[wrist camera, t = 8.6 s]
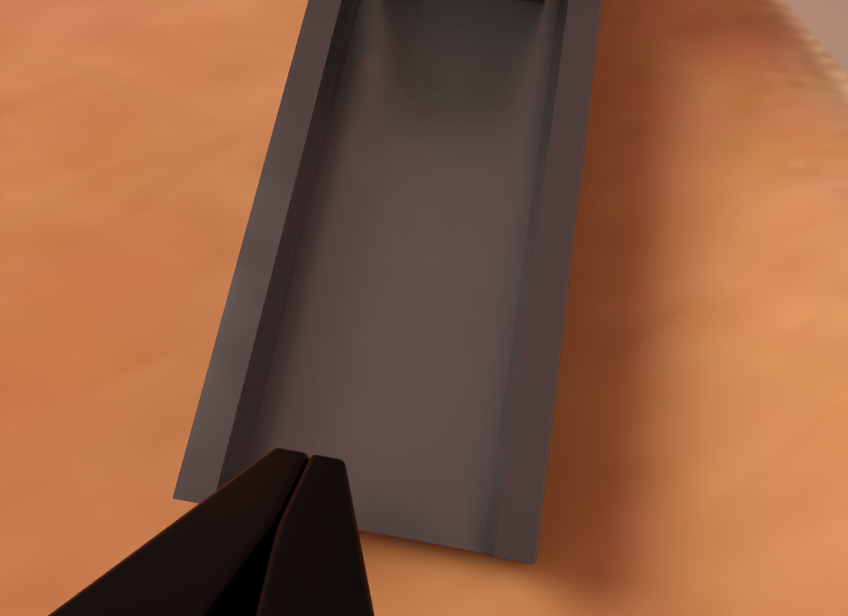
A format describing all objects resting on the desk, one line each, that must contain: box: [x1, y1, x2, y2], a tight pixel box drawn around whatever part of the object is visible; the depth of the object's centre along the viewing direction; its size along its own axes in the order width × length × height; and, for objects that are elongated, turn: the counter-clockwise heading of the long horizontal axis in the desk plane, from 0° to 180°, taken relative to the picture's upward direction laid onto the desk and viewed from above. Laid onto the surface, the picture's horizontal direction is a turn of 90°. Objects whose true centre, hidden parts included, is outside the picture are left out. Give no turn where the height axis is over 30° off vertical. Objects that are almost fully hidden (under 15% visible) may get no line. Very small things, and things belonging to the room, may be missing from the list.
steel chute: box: [173, 0, 602, 564], centre depth 22 cm, size 24×10×4 cm, turn 170°
